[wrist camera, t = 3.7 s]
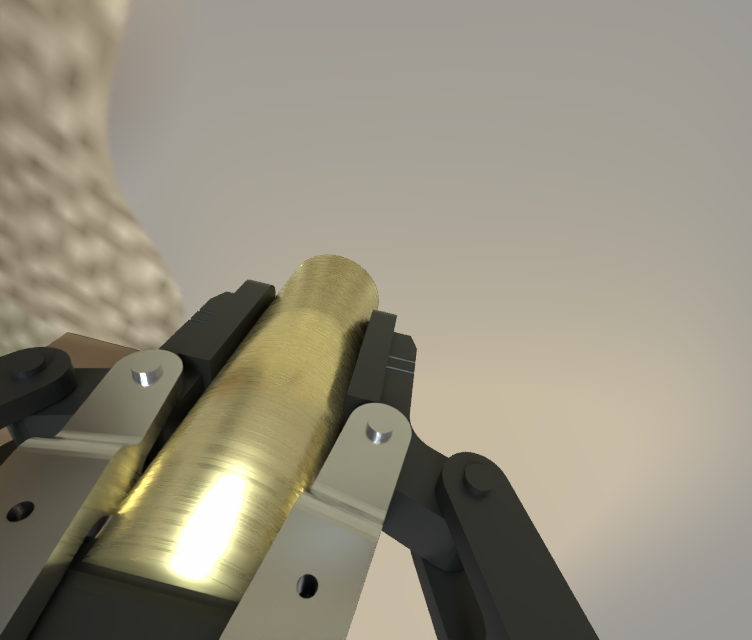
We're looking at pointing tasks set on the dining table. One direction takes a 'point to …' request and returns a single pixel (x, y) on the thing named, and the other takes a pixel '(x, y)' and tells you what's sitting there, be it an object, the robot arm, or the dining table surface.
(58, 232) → the dining table surface
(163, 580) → the brass peg
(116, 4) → the dining table surface
